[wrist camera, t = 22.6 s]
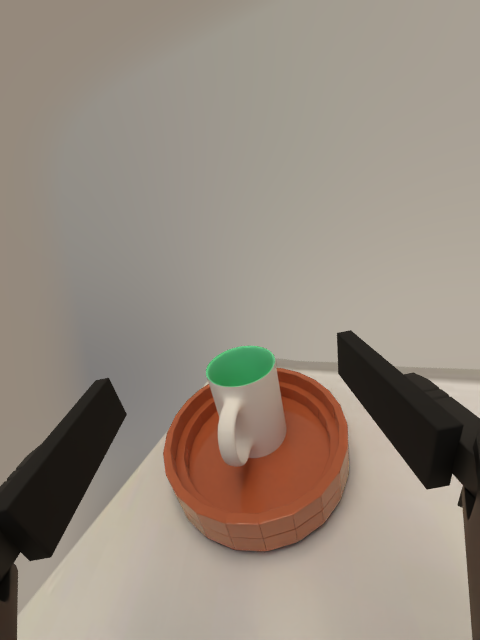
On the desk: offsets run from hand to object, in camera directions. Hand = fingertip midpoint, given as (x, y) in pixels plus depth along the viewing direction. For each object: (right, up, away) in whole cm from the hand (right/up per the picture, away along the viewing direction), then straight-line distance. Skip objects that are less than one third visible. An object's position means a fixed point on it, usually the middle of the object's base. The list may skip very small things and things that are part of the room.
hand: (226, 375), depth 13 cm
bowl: (+3, -13, +16) cm, 20 cm away
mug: (+2, -12, +16) cm, 20 cm away
